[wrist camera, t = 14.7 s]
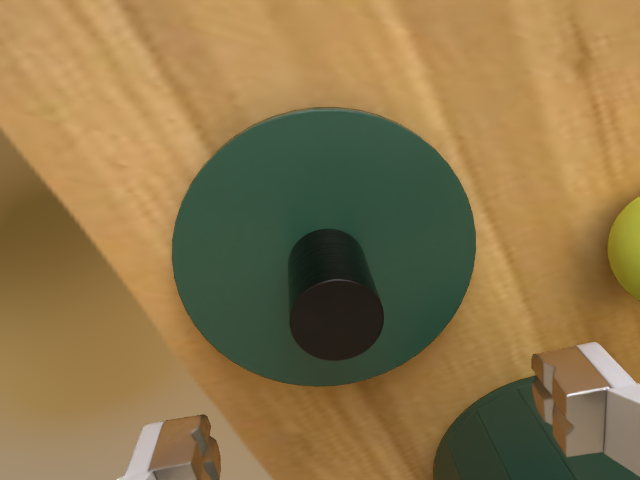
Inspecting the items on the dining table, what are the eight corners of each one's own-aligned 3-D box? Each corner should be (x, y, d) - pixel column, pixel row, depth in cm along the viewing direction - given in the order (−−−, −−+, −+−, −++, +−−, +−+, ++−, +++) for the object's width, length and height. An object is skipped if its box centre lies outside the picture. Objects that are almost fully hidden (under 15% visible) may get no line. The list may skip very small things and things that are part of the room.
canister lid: (453, 73, 20) (514, 91, 15) (477, 341, 25) (529, 426, 20) (135, 141, 20) (83, 183, 15) (222, 393, 25) (206, 491, 20)
